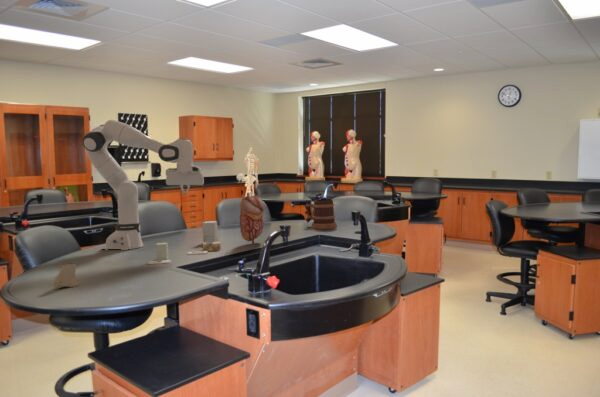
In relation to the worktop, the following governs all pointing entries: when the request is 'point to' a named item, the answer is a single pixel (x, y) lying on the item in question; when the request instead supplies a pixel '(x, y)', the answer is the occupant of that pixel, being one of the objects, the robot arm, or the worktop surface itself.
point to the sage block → (162, 251)
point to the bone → (66, 276)
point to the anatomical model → (251, 217)
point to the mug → (321, 213)
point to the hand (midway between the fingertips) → (185, 193)
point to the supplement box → (210, 231)
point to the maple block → (211, 246)
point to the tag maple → (197, 252)
